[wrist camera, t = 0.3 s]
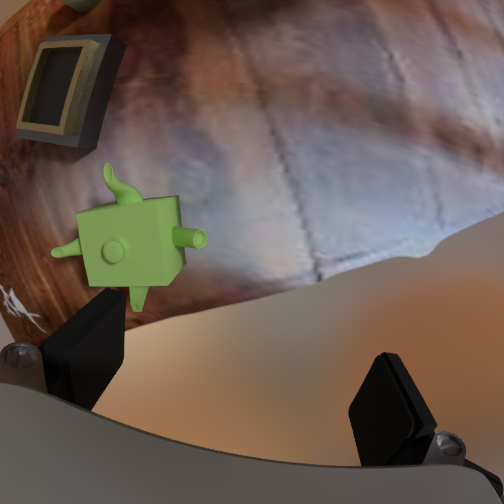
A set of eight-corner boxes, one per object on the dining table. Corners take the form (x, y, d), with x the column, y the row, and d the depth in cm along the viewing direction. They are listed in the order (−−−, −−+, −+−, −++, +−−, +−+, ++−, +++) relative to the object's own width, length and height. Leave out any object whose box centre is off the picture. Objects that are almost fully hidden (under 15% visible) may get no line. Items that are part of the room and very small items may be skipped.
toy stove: (57, 45, 34) (32, 35, 27) (126, 45, 34) (104, 29, 27) (31, 137, 38) (3, 137, 31) (96, 148, 38) (68, 147, 32)
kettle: (88, 235, 42) (43, 256, 31) (136, 156, 39) (94, 156, 28) (162, 298, 44) (134, 337, 33) (220, 224, 41) (203, 246, 30)
